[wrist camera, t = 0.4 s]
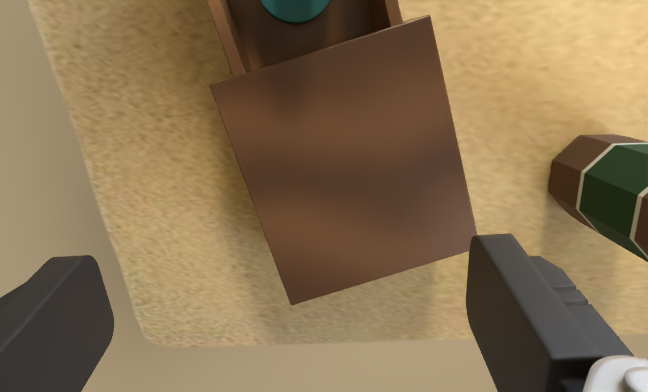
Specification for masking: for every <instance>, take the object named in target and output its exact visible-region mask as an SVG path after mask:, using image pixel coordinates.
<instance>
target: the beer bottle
mask: <svg viewBox="0 0 648 392" xmlns="http://www.w3.org/2000/svg"><path fill="white" fill-rule="evenodd" d="M549 193H550V194H551V195H552V196H553V197H554V198H555V199H556V200H557V201H558V203H559V204H560V205H561V206H562V207H563V208H564V209H565V210H566V211H567V212H568V214H570V215H571V216H572V217H574V218H575V219H577V220H578V221H579V222H581V223H583V224H584V225H586V226H588V227H589V228H591V229H593V230H595V231H596V232H598V233H600V234H601V235H603V236H605V237H606V238H608V239H610V240H611V241H613V242H615V243H617V244H618V245H620V246H622V247H623V248H625V249H627V250H628V251H630V252H632V253H633V254H635V255H637V256H639V257H640V258H642V259H644V260H645V261H647V262H648V142H645V141H642V140H638V139H634V138H630V137H625V136H619V135H582V136H579V137H578V138H576V139H575V140H574V141H573V142H572V143H571V144H570V145H569V146H568V147H567V148H566V149H564V150H563V151H562V152H561V153H560V154H559V155H558V156H557V157H556V158H555V159H554V160H553V165H552V173H551V180H550V188H549Z"/></svg>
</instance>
